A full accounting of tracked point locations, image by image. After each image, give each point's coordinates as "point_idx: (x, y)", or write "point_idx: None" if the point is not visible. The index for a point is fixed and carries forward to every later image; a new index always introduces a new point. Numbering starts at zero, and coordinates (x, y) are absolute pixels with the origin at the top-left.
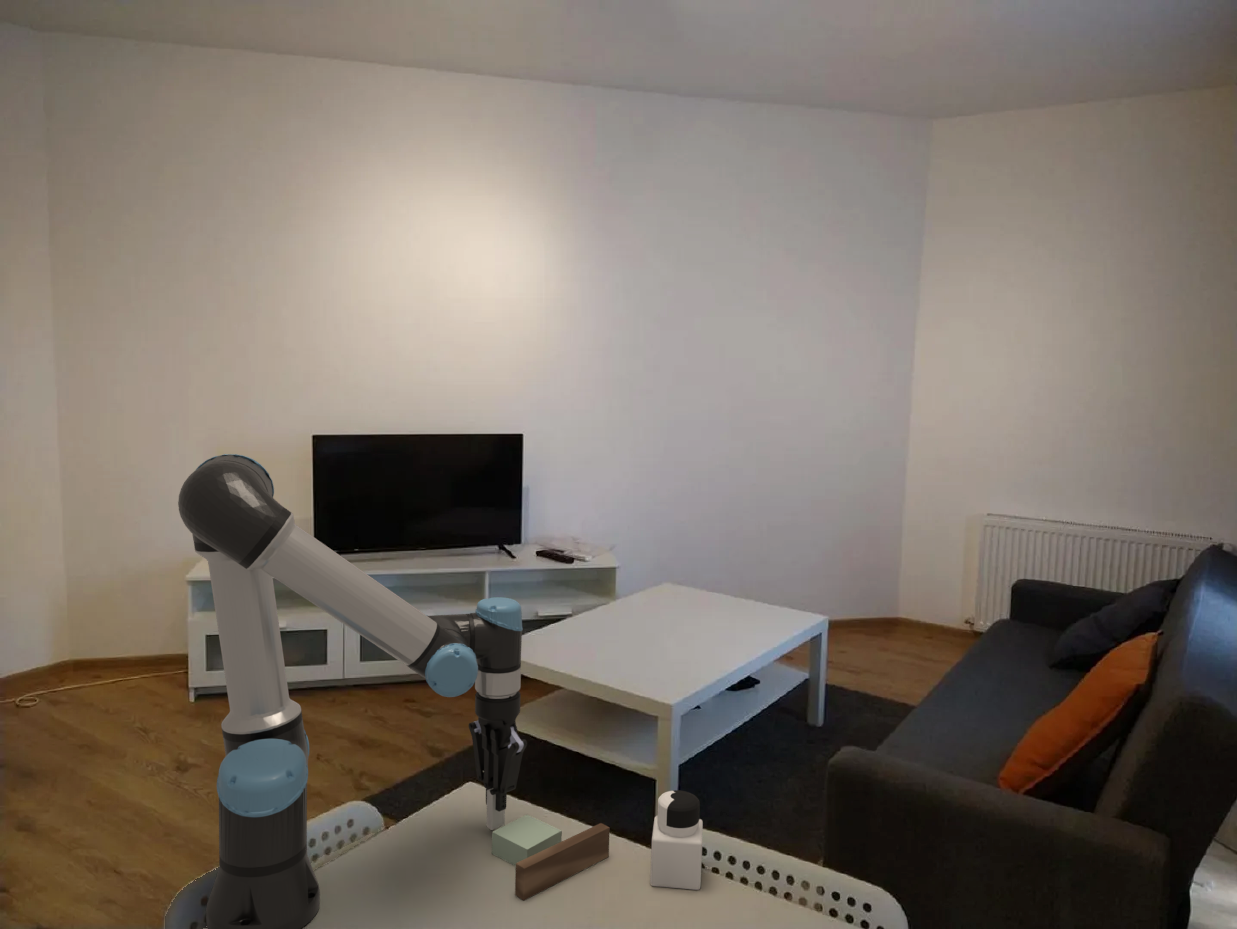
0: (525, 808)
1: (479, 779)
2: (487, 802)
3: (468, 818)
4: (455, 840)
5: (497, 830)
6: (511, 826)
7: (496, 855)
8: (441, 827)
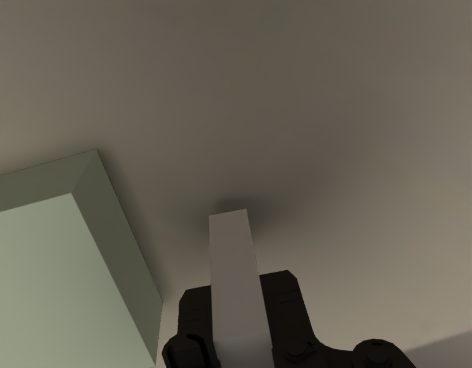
0: None
1: (368, 350)
2: (253, 280)
3: (399, 188)
4: (277, 67)
5: (72, 218)
6: (83, 282)
7: (67, 158)
8: (414, 62)
